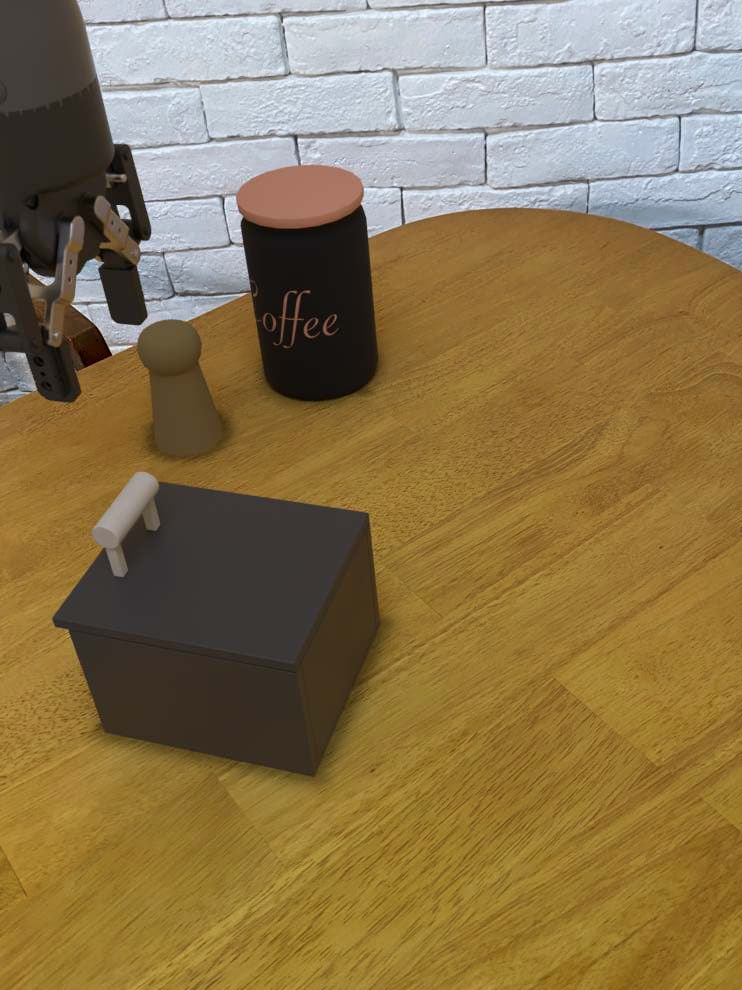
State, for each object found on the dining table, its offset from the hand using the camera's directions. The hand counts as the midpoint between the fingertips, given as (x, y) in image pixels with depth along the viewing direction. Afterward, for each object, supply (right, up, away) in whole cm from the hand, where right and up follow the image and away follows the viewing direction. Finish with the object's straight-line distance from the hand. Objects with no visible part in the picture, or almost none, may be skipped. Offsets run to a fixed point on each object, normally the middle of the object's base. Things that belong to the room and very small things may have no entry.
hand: (98, 358), depth 67 cm
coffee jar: (+10, +5, +39) cm, 40 cm away
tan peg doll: (-1, -2, +32) cm, 32 cm away
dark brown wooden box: (+7, -20, +10) cm, 24 cm away
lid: (+6, -13, +4) cm, 15 cm away
